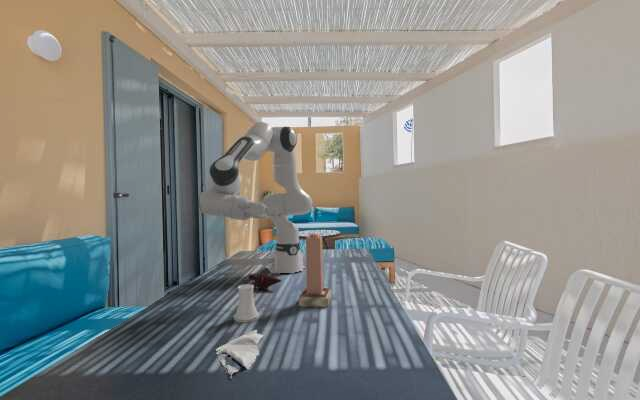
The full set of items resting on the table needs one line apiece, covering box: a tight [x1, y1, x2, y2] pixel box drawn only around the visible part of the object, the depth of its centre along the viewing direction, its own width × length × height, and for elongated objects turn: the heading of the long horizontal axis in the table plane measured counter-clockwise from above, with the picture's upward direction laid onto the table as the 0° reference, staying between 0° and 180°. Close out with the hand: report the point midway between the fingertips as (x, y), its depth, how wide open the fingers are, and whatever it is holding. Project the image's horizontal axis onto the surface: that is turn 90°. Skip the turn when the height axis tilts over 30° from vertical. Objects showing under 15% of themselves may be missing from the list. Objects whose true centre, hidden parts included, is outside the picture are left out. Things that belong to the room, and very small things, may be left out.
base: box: [298, 287, 332, 308], centre depth 121 cm, size 10×10×4 cm
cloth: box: [215, 329, 265, 380], centre depth 84 cm, size 26×14×2 cm, turn 167°
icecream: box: [248, 272, 282, 290], centre depth 139 cm, size 7×7×15 cm
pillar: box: [305, 233, 324, 294], centre depth 121 cm, size 5×5×21 cm
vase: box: [233, 283, 260, 323], centre depth 106 cm, size 8×8×10 cm
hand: (279, 213), depth 126 cm, fingers open, 8 cm apart
